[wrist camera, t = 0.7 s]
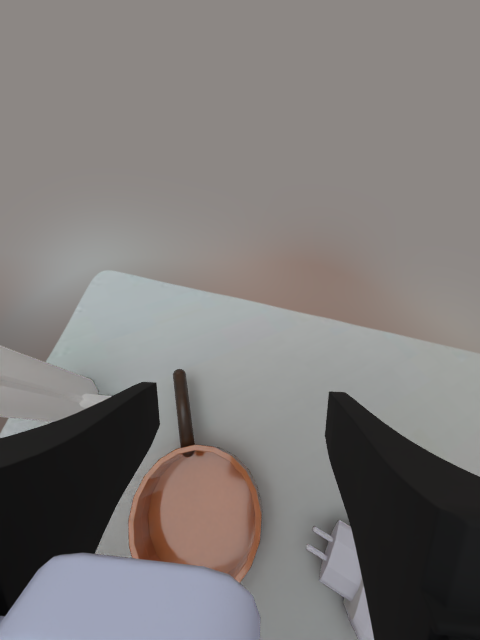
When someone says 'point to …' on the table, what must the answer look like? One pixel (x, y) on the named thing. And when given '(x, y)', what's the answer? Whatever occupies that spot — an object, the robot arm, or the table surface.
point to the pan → (197, 512)
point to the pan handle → (183, 411)
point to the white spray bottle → (41, 389)
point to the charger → (345, 576)
